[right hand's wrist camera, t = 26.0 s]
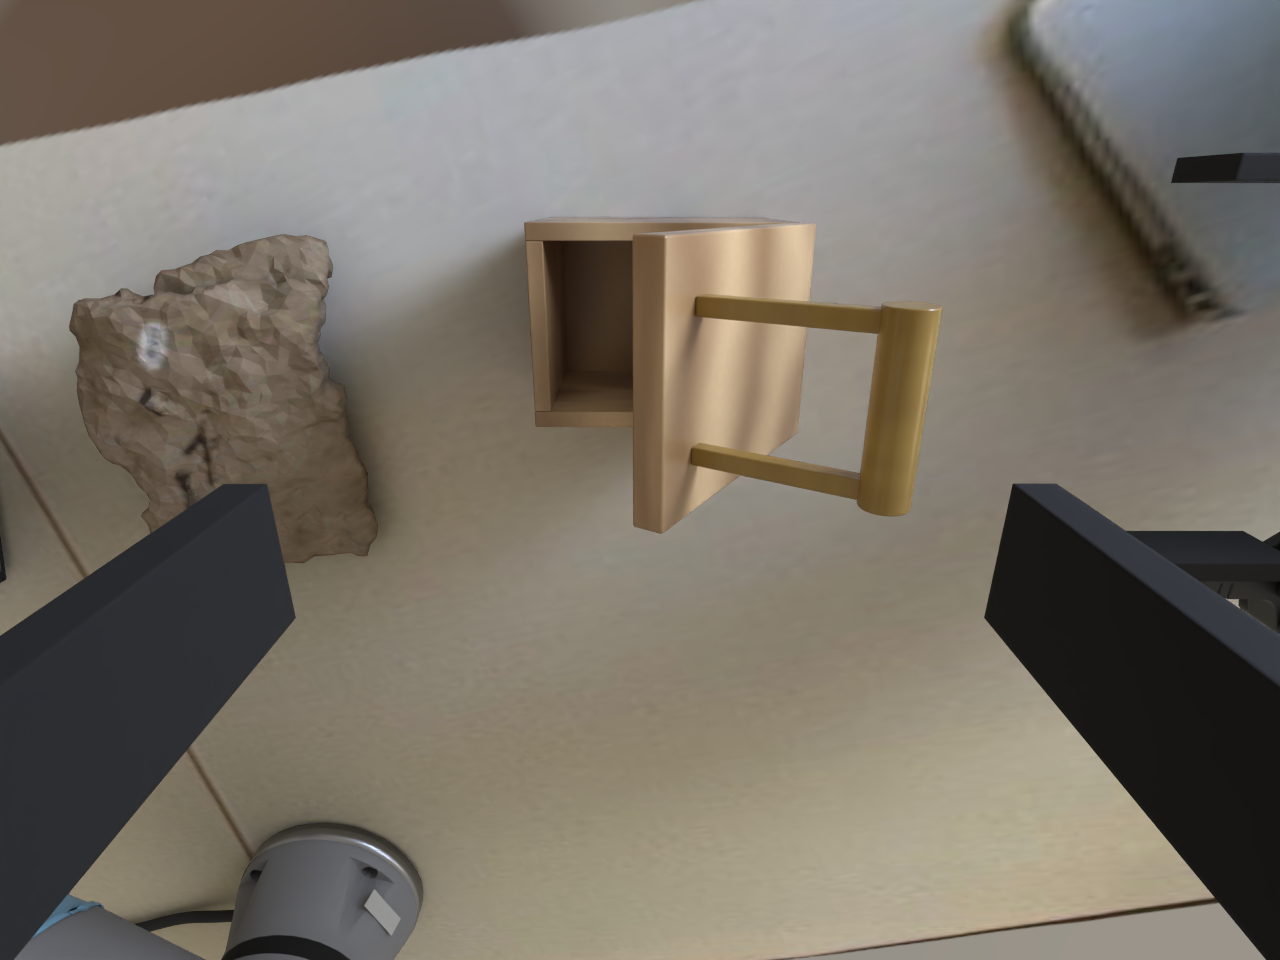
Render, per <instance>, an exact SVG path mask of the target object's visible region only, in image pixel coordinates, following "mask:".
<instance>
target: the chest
mask: <svg viewBox="0 0 1280 960" xmlns="http://www.w3.org/2000/svg"><path fill="white" fill-rule="evenodd" d="M783 223H799V222H792V221H785V220H778V219H771V218H698V217H550V218H545V219H540V220H534V221H529V222H525V223H524V226H525V240H526V242H525V243H526V260H527V278H528V296H529V313H530V331H531V349H532V367H533V384H534V402H535V420H536V427H633V235H634V234H641V233H655V232H670V231H684V230H698V229H712V228H726V227H741V226H755V225H769V224H783Z"/></svg>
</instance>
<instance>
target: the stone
mask: <svg viewBox="0 0 1280 960" xmlns="http://www.w3.org/2000/svg"><path fill="white" fill-rule="evenodd" d="M332 271H333V264H332V262H331V259H330V257H329V250H328V247H327V244H326V241H323V240H320V239H317V238H313V237H310V236H307V235H305V236H291V235H285V234H282V235H276V236H272V237H268V238H263V239H259V240H255V241H251V242H247V243H243V244H240V245H237V246H235V247H234V248H232V249H230V250H216V251H214V252H213V253H211V254H210V255H206V256H202V257H199V258H198V259H197V260H195V261H194V262H193V263H192V264H188V265H185V266H182V267H180V268H177V269H173V270H162V271H161V272H160V273H159V274H158V275H157V276H156V279H155V284H154V291H155V294H154V295H149V296H145V297H143V296H140V295H138V294H135V293H133V292H131V291H130V290H129V289H120V290H119V291H118V292H117V293H116V294H115V295H112V296H108V297H105V298H101V299H83V300H78V301H77V302H76V303H74V306H73V312H72V317H71V321H70V325H69V328H70V331H71V332H72V333H73V334H74V335H75V336H76V339H77V341H78V344H79V346H80V356H79V364H78V366H77V369H76V371H75V372H76V374H77V377H78V381H77V394H78V399H79V404H80V408H81V412H82V416H83V419H84V423H85V426H86V428H87V431H88V434H89V436H90V438H91V439H92V441H93V442H94V444H95V445H96V447H97V449H98V450H99V452H100V453H101V454H102V456H103V457H104V458H105V459H107V460H108V461H110V462H111V463H113V464H117V465H120V466H122V467H123V468H125V469H126V470H127V471H128V472H129V473H130V474H131V475H132V476H133V477H134V479H135V480H136V482H137V484H138V485H139V486H140V487H141V488H142V490H143V491H144V492H146V494H147V495H148V497H149V499H150V503H149V507H148V508H147V510H146V511H144V512H143V513H142V516H141V517H142V518H143V519H144V520H145V521H146V522H147V524H148V526H149V529H150V534H151V533H152V532H154V531H155V530H157V529H158V528H159V527H161V526H162V525H164V524H165V523H167V522H168V521H170V520H171V519H173V518H174V517H176V516H177V515H179V514H180V513H181V512H183V511H184V510H186V509H187V508H189V507H190V506H192V505H193V504H195V503H196V502H198V501H199V500H201V499H202V498H203V497H205V496H206V495H208V494H209V493H211V492H212V491H214V490H215V489H217V488H218V487H220V486H221V485H223V484H267V485H268V490H269V495H270V500H271V504H272V509H273V514H274V518H275V523H276V528H277V532H278V537H279V542H280V546H281V551H282V556H283V561H284V563H290V562H294V563H304V562H306V561H308V560H309V559H311V558H312V557H314V556H322V555H334V554H339V553H353V554H356V555H358V556H367V555H368V551H369V547H370V544H371V543H372V542H373V541H374V539H375V538H376V536H377V527H378V525H377V521H376V519H375V517H374V512H373V510H372V507H371V505H370V504H369V502H368V500H367V499H366V496H367V494H368V473H367V471H366V469H365V467H364V464H363V463H362V462H361V460H360V459H359V457H358V452H357V451H356V449H355V448H354V445H353V443H352V441H351V439H350V437H349V434H348V432H349V427H350V424H349V420H348V417H347V415H346V393H345V388H344V386H343V385H342V384H340V383H337V382H334V381H331V380H330V379H329V378H328V377H329V367H328V365H327V363H326V361H325V356H324V355H323V354H322V353H321V352H320V349H319V346H318V341H319V338H320V336H321V333H320V329H321V327H322V325H323V324H324V323H325V318H326V305H325V302H324V297H325V296H326V295H327V291H328V288H329V285H328V281H327V278H330V277H332Z"/></svg>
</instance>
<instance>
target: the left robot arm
mask: <svg viewBox="0 0 1280 960" xmlns="http://www.w3.org/2000/svg"><path fill="white" fill-rule="evenodd" d="M1171 183H1280V153H1236V154H1223V155H1210V156H1197V157H1184V158H1177V162H1176V166H1175V170H1174V174H1173V177H1172V181H1171ZM1126 532H1128V533H1129V534H1131V535H1132V536H1134V537H1135V538H1137V539H1138V540H1140V541H1141V542H1143V543H1144V544H1146V545H1147V546H1148V547H1150V548H1151V549H1153V550H1154V551H1156V552H1157V553H1159V554H1160V555H1162V556H1163V557H1165V558H1166V559H1168V560H1169V561H1170V562H1172V563H1173V564H1175V565H1176V566H1178V567H1179V568H1181V569H1182V570H1184V571H1185V572H1187V573H1188V574H1190V575H1191V576H1192V577H1194V578H1195V579H1197V580H1198V581H1200V582H1201V583H1203V584H1204V585H1206V586H1207V587H1209V588H1210V589H1212V590H1213V591H1215V592H1216V593H1217V594H1219V595H1220V596H1222V597H1223V598H1225V599H1226V598H1227V599H1239V607H1240V609H1241V610H1243V611H1244V612H1246V613H1247V614H1249V615H1250V616H1251V617H1253V618H1254V619H1256V620H1257V621H1259V622H1260V623H1262V624H1263V625H1265V626H1266V627H1268V628H1269V629H1271V630H1272V631H1275V632H1277V633H1279V634H1280V532H1279V533H1277V534H1275V535H1273V536H1272V537H1270V538H1268V539H1267V540H1265V541H1263V542H1262V541H1260V540H1258V539H1257V538H1255V537H1253V536H1251V535H1249V534H1247V533H1246V532H1244V531H1126Z"/></svg>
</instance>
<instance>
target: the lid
mask: <svg viewBox="0 0 1280 960" xmlns="http://www.w3.org/2000/svg"><path fill="white" fill-rule="evenodd" d="M815 231H816V224H815V223H783V224H769V225H755V226H741V227H726V228H712V229H698V230H684V231H670V232H655V233H641V234H634V235H633V525H634V526H635V527H638V528H642V529H645V530H649V531H653V532H656V533H663V532H665V531H666V530H667V529H669V528H670V527H671V526H673V525H674V524H676V523H677V522H678V521H680V520H681V519H682V518H684V517H685V516H686V515H688V514H689V513H690V512H692V511H693V510H694V509H696V508H697V507H698V506H700V505H701V504H702V503H704V502H705V501H706V500H708V499H709V498H710V497H712V496H713V495H715V494H716V493H717V492H719V491H720V490H721V489H723V488H724V487H725V486H727V485H728V484H729V483H731V482H732V481H733V480H735V479H736V478H737V477H739V476H740V475H742V476H746V477H751V478H756V479H761V480H765V481H770V482H775V483H780V484H784V485H789V486H794V487H799V488H803V489H808V490H813V491H818V492H822V493H827V494H832V495H837V496H841V497H846V498H851V499H855V500H857V505H858V506H859V507H860V508H861V509H862V510H864V511H866V512H869V513H872V514H876V515H881V516H901V515H905V514H907V513H908V512H909V511H910V509H911V503H912V496H913V490H914V484H915V477H916V471H917V465H918V458H919V452H920V446H921V440H922V433H923V427H924V421H925V414H926V408H927V402H928V395H929V389H930V383H931V376H932V370H933V364H934V357H935V351H936V345H937V338H938V332H939V326H940V319H941V313H942V307H941V306H939V305H936V304H931V303H923V302H887V303H883V304H882V306H881V307H876V306H863V305H849V304H836V303H822V302H809V298H810V287H811V276H812V265H813V253H814V242H815ZM807 327H810V328H821V329H832V330H842V331H853V332H864V333H875V334H878V336H877V344H876V352H875V360H874V368H873V376H872V384H871V392H870V400H869V408H868V416H867V423H866V431H865V439H864V447H863V455H862V463H861V471H860V473H855V472H850V471H845V470H840V469H834V468H829V467H824V466H819V465H814V464H808V463H803V462H798V461H793V460H788V459H782V458H777V457H772V456H767V455H768V454H770V453H771V452H772V451H774V450H775V449H776V448H778V447H779V446H780V445H782V444H783V443H784V442H786V441H787V440H789V439H790V438H791V437H793V436H794V435H795V434H797V432H798V422H799V411H800V400H801V389H802V377H803V366H804V355H805V344H806V332H807Z"/></svg>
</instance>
